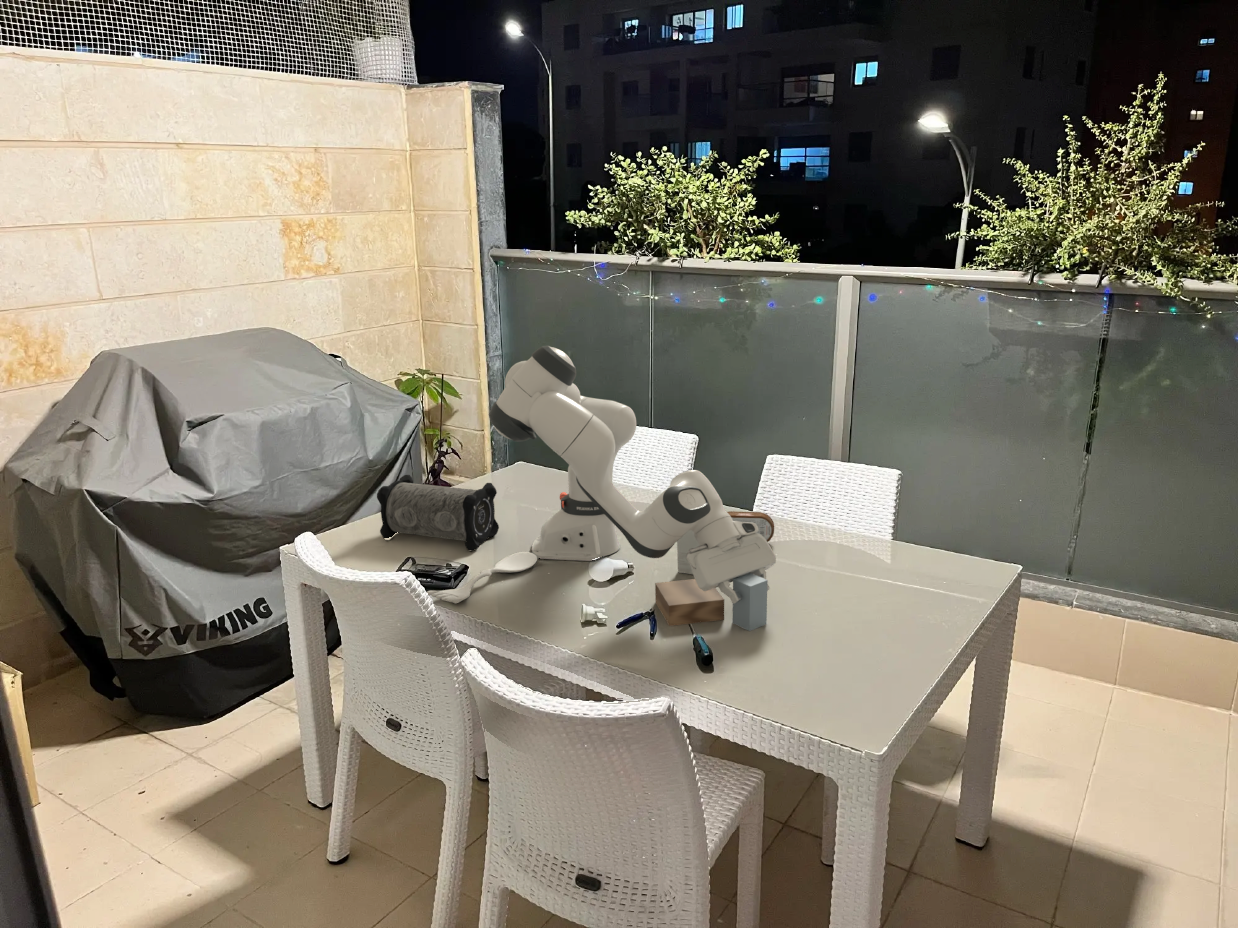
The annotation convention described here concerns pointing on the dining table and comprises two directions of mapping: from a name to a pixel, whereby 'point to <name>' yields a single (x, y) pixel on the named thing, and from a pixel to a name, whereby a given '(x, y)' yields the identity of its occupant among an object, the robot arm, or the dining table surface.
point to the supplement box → (685, 551)
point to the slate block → (750, 601)
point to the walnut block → (688, 602)
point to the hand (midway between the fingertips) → (751, 596)
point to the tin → (756, 522)
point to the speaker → (438, 511)
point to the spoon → (507, 564)
